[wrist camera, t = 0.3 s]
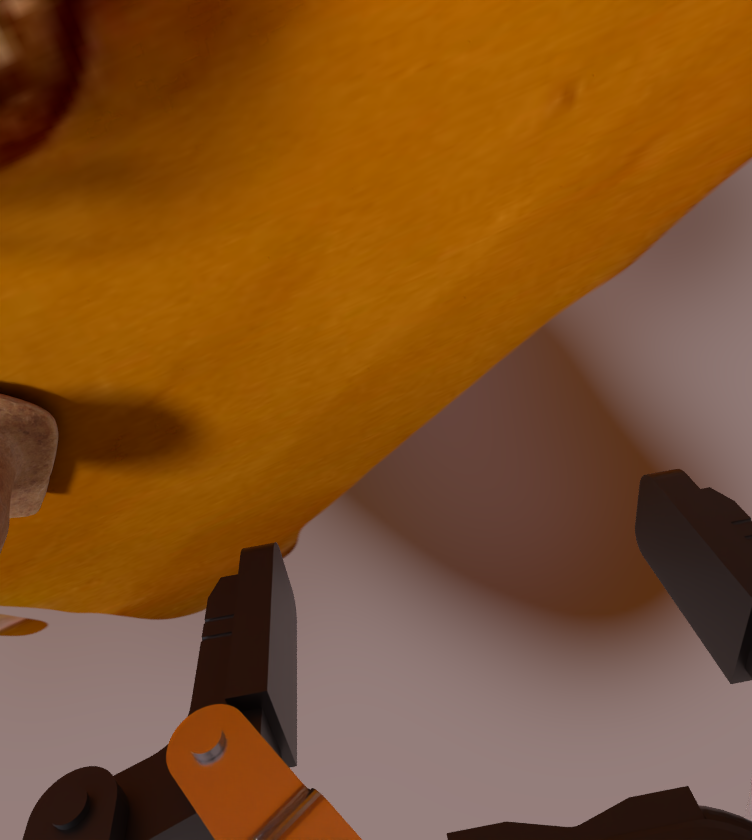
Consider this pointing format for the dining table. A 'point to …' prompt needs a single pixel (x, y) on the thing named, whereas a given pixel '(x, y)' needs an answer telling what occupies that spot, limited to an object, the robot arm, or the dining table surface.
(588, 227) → the dining table surface
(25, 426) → the brown top hat
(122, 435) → the dining table surface
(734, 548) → the robot arm
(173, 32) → the dining table surface
